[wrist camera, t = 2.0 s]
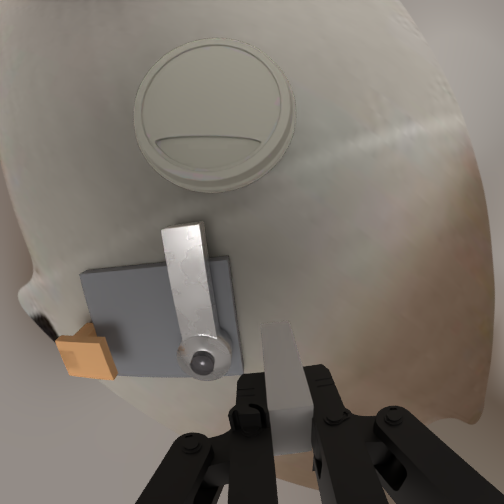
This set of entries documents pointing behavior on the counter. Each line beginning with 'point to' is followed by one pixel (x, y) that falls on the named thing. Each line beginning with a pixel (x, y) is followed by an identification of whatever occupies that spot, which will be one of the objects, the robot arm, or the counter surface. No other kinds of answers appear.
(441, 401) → the counter surface
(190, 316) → the link
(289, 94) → the coffee cup
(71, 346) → the block
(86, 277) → the board
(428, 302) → the counter surface
